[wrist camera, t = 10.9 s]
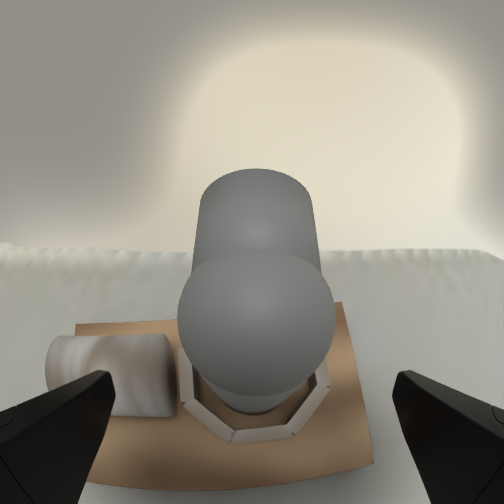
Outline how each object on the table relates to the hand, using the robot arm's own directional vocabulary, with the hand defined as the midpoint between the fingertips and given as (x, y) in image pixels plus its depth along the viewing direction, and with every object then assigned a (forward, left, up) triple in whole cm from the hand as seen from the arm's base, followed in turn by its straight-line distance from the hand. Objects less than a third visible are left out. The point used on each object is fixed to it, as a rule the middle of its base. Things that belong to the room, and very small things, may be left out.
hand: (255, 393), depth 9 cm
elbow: (+2, 0, -11) cm, 11 cm away
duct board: (+1, +3, -12) cm, 13 cm away
